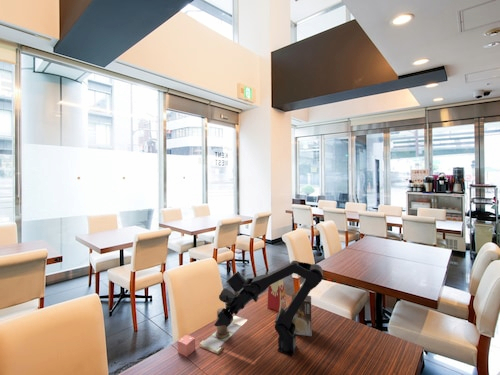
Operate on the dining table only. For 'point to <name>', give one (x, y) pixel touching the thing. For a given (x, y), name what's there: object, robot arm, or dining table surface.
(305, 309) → the coffee box
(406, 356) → the dining table surface
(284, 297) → the milk carton
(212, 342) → the board
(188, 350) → the die
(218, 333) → the pawn
